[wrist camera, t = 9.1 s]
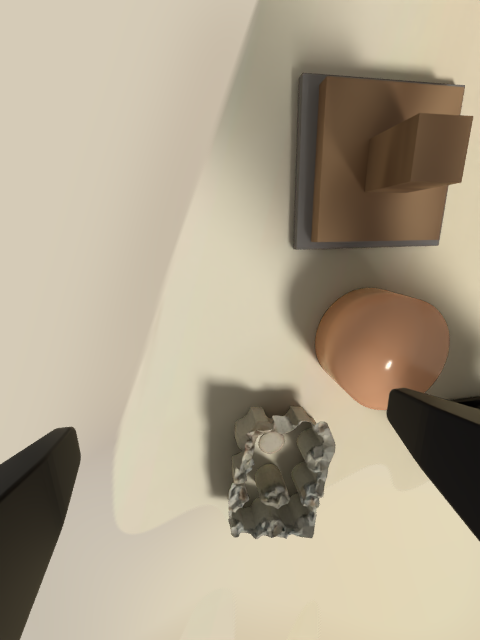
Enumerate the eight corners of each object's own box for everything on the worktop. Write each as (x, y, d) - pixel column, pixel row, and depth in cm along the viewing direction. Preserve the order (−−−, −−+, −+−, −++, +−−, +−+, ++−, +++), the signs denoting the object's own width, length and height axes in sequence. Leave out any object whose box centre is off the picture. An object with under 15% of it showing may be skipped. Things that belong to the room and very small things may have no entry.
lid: (450, 94, 19) (539, 47, 14) (427, 239, 21) (496, 240, 17) (319, 84, 17) (369, 28, 13) (311, 241, 20) (350, 243, 15)
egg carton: (235, 399, 23) (245, 432, 19) (322, 403, 25) (347, 433, 21) (218, 507, 26) (224, 555, 22) (298, 504, 28) (316, 548, 24)
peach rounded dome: (414, 285, 23) (459, 295, 19) (400, 377, 25) (438, 403, 21) (318, 290, 22) (346, 301, 18) (312, 387, 24) (336, 416, 20)
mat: (456, 89, 20) (465, 85, 19) (432, 245, 22) (438, 245, 22) (299, 78, 18) (302, 72, 17) (293, 249, 20) (296, 249, 20)
